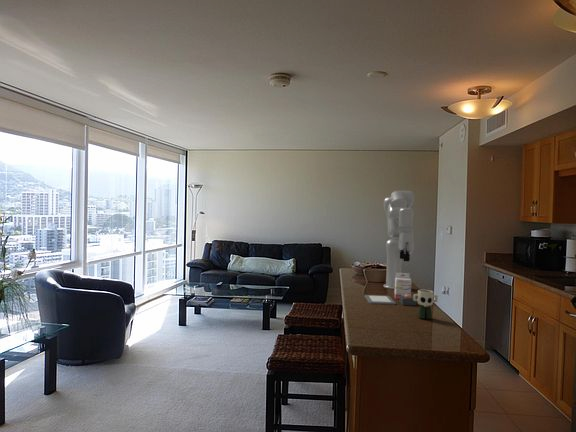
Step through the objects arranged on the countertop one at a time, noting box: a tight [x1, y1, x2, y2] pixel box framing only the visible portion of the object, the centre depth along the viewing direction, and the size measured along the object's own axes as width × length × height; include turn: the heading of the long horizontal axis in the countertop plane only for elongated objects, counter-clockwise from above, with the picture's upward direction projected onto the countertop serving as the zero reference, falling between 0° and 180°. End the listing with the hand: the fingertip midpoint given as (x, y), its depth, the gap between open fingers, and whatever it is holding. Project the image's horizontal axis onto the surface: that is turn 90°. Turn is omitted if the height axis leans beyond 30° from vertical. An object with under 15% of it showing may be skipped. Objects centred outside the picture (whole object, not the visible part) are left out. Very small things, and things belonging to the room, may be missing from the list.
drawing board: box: [364, 294, 397, 305], centre depth 234 cm, size 18×14×1 cm
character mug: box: [413, 289, 438, 320], centre depth 198 cm, size 11×7×13 cm, turn 81°
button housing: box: [399, 295, 417, 307], centre depth 227 cm, size 7×7×4 cm
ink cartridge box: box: [393, 272, 412, 301], centre depth 239 cm, size 9×5×15 cm, turn 84°
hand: (404, 259), depth 238 cm, fingers open, 9 cm apart
